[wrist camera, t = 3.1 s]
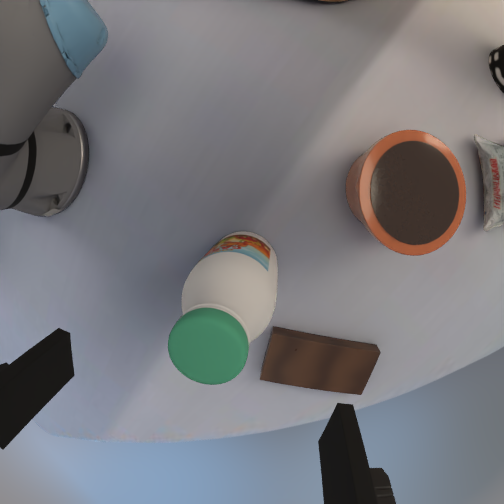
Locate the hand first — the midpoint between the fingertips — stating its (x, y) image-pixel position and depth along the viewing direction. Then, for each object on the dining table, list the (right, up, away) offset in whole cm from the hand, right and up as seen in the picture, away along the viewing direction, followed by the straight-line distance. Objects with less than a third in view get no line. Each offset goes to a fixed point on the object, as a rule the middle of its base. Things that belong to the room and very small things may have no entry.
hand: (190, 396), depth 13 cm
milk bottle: (+2, +5, +23) cm, 24 cm away
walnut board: (+12, -7, +25) cm, 28 cm away
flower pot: (+18, +14, +20) cm, 30 cm away
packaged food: (+35, +16, +18) cm, 42 cm away
